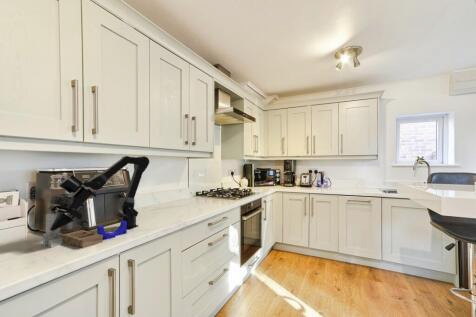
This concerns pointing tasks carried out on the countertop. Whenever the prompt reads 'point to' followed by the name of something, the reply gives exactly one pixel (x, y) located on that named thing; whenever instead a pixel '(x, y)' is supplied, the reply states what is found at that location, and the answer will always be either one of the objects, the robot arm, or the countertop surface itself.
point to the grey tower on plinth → (50, 236)
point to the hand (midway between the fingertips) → (49, 229)
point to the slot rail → (82, 238)
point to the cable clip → (119, 231)
